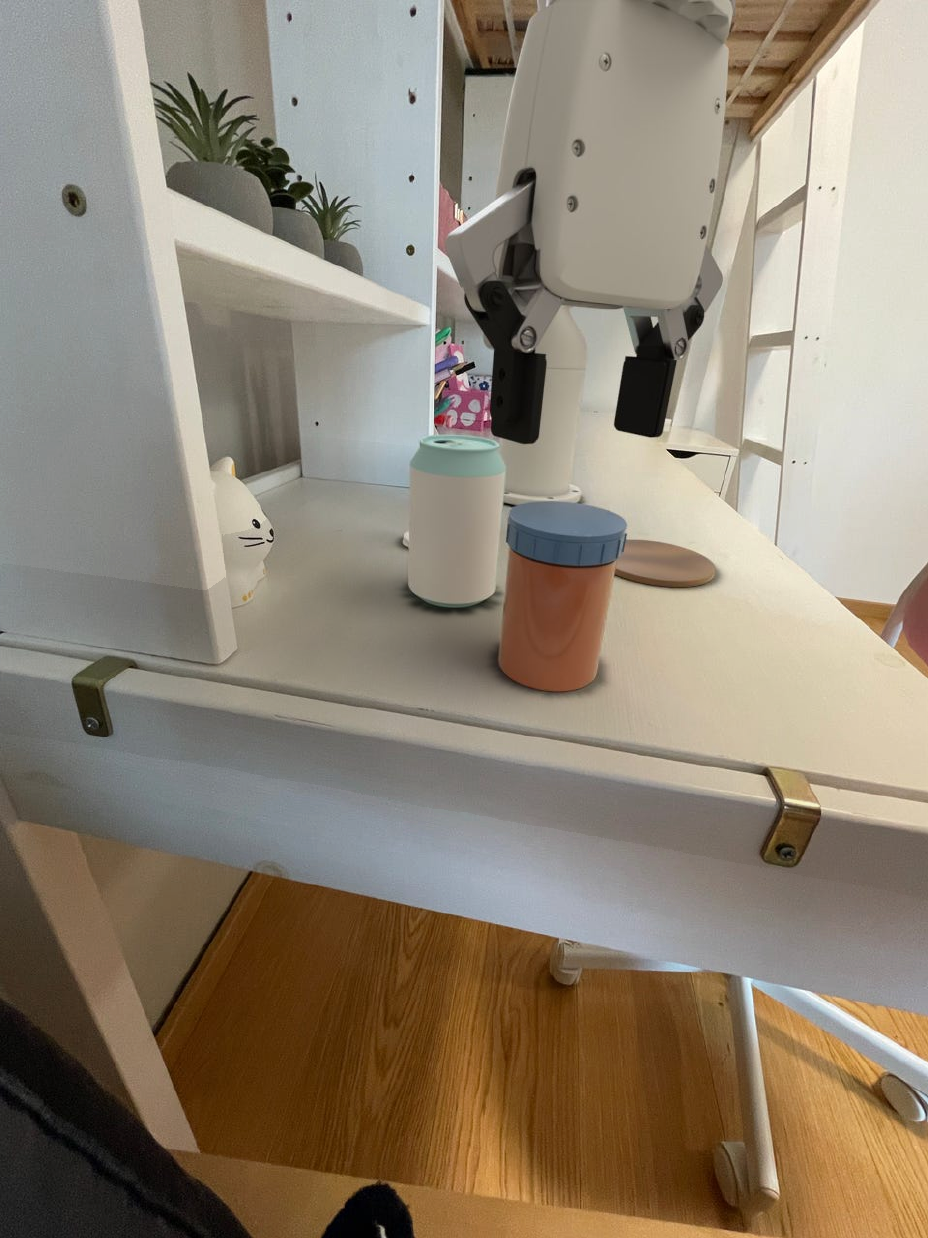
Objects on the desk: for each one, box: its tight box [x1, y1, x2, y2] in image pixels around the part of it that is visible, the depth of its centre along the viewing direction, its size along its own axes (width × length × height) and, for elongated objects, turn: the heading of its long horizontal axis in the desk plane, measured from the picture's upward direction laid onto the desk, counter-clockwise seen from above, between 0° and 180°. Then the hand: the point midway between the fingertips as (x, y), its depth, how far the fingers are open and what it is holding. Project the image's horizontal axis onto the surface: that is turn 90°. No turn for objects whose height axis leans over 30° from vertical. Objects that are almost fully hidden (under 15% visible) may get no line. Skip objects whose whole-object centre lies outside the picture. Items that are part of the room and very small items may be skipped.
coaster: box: [615, 539, 717, 588], centre depth 56 cm, size 11×11×1 cm
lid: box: [505, 501, 628, 566], centre depth 34 cm, size 7×7×2 cm
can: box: [407, 434, 506, 609], centre depth 45 cm, size 7×7×12 cm
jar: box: [497, 545, 618, 692], centre depth 36 cm, size 6×6×9 cm
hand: (579, 435), depth 31 cm, fingers open, 8 cm apart
